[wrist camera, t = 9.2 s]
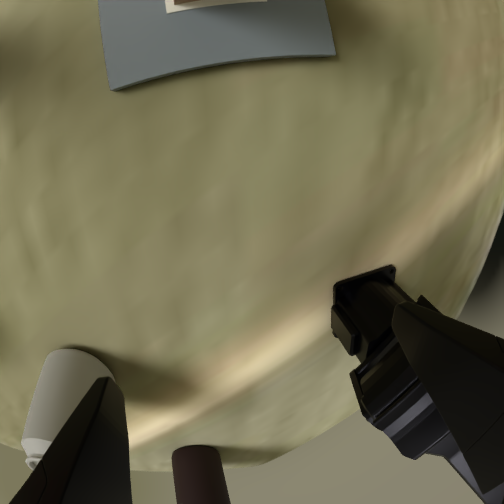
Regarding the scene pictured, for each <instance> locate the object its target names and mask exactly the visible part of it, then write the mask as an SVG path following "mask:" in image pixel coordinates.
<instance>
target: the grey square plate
mask: <svg viewBox="0 0 504 504" xmlns="http://www.w3.org/2000/svg"><path fill="white" fill-rule="evenodd" d="M98 5H99V16H100V25H101V34H102V42H103V49H104V56H105V63H106V69H107V75H108V81H109V86H110V90H111V91H117V90H120V89H123V88H126V87H130V86H133V85H136V84H139V83H143V82H146V81H150V80H153V79H157V78H161V77H165V76H169V75H173V74H177V73H182V72H186V71H191V70H196V69H201V68H206V67H212V66H218V65H224V64H231V63H238V62H246V61H255V60H265V59H278V58H295V57H331V56H334V55H336V53H335V47H334V42H333V37H332V32H331V27H330V22H329V17H328V13H327V9H326V4H325V0H200V1H193V2H188V3H182V4H177V5H174V0H98Z"/></svg>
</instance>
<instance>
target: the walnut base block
mask: <svg viewBox="0 0 504 504" xmlns="http://www.w3.org/2000/svg"><path fill="white" fill-rule="evenodd" d="M193 1H200V0H174V5H177V4H182V3H188V2H193Z"/></svg>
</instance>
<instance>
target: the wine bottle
mask: <svg viewBox="0 0 504 504" xmlns="http://www.w3.org/2000/svg"><path fill="white" fill-rule="evenodd" d="M172 467H173V476H174V484H175V492H176V499H177V504H231V503H230V499H229V495H228V490H227V485H226V481H225V477H224V472H223V467H222V462H221V458H220V454H219V452H218V451H217V450H216V449H214V448H211V447H207V446H188V447H183V448H179V449H177V450H175V451H174V452H173V454H172Z"/></svg>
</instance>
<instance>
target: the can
mask: <svg viewBox="0 0 504 504" xmlns="http://www.w3.org/2000/svg"><path fill="white" fill-rule="evenodd" d="M104 376H110V377H111V378H112V379H113V380H114V382H115V379H114V376H113V374H112V373H111V372H110V370H109V369H108V368H107V367H106V366H105V365H104V364H103V363H102V362H101V361H100V360H98V359H97V358H96V357H95V356H93V355H91V354H89V353H87V352H84V351H81V350H78V349H60V350H55V351H52V352H51V353H50V354H48V355H47V357H46V360H45V362H44V365H43V368H42V371H41V373H40V376H39V379H38V382H37V386H36V389H35V392H34V395H33V399H32V402H31V405H30V409H29V413H28V416H27V420H26V424H25V428H24V432H23V437H22V441H21V444H22V446H23V448H24V450H25V452H26V454H27V456H28V458H27V459H26V463H27V465H28V466H29V467H30V468H31V469H32V470H34V469H35V467H36V466H37V464H38V463H39V461H40V460H41V459H42V457H43V455H44V454H45V452H46V451H47V449H48V448H49V446H50V445H51V443H52V442H53V440H54V439H55V437H56V436H57V434H58V433H59V431H60V430H61V428H62V427H63V425H64V424H65V422H66V421H67V420H68V418H69V417H70V415H71V414H72V412H73V411H74V410H75V408H76V407H77V405H78V404H79V402H80V401H81V400H82V398H83V397H84V395H85V394H86V393H87V391H88V390H89V389H90V387H91V386H92V384H93V383H94V382H95V380H96V379H97V378H98V377H104ZM115 383H116V382H115Z"/></svg>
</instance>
